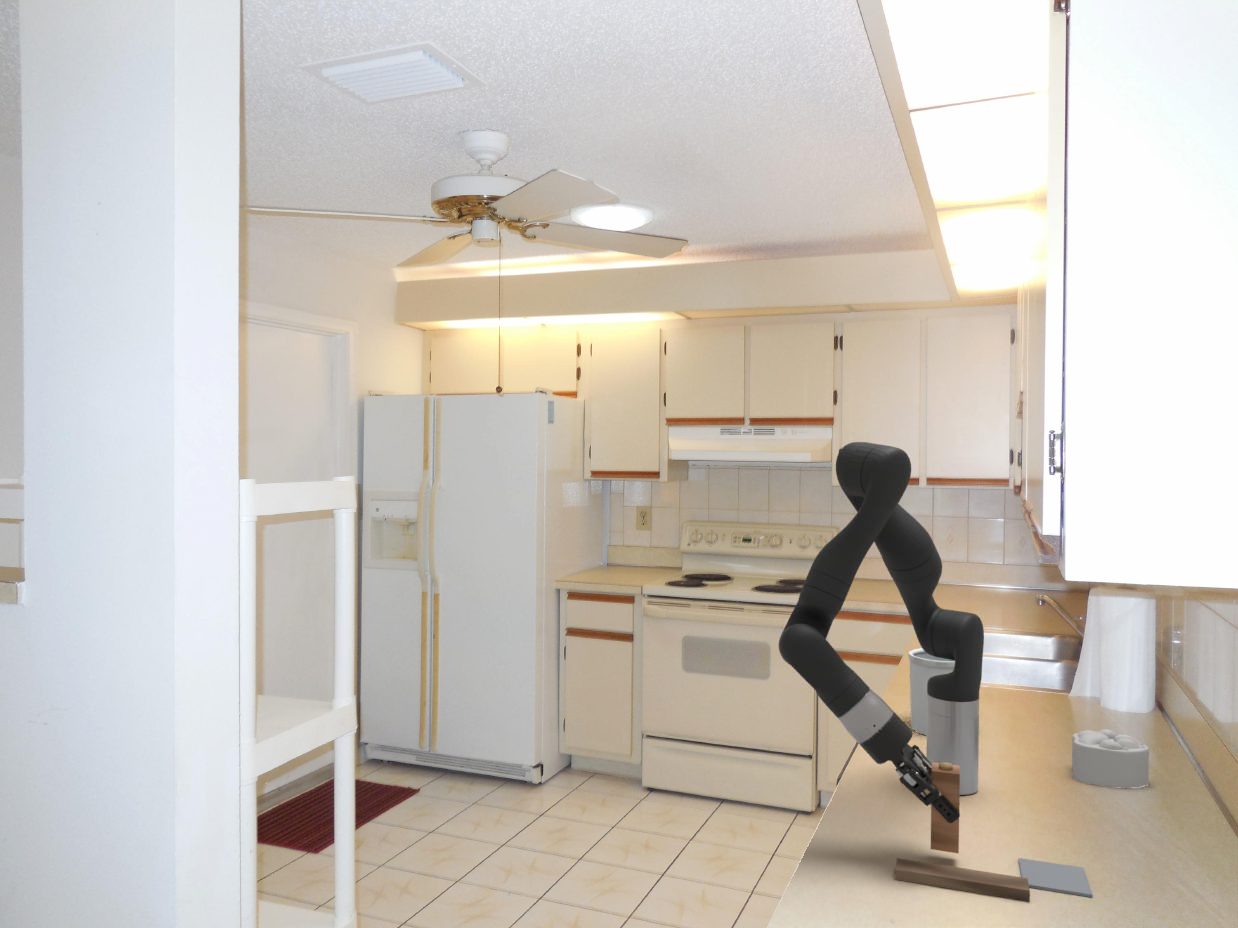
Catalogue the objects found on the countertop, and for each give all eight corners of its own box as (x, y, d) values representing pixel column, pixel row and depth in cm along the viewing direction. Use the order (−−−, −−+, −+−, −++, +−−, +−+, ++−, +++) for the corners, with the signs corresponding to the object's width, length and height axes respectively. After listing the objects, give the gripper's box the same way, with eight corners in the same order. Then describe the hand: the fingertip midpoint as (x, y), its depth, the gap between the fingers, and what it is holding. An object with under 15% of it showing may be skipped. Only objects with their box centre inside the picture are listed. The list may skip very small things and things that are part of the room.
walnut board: (896, 867, 135) (896, 857, 135) (1027, 888, 129) (1027, 877, 129) (895, 879, 132) (895, 868, 132) (1029, 901, 125) (1029, 890, 125)
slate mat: (1018, 860, 138) (1018, 857, 138) (1083, 869, 135) (1083, 867, 135) (1023, 886, 130) (1023, 883, 130) (1092, 897, 127) (1092, 894, 127)
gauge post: (931, 838, 140) (932, 758, 140) (958, 842, 139) (959, 761, 139) (930, 848, 137) (931, 766, 137) (958, 853, 135) (959, 770, 135)
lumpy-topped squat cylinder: (1071, 765, 182) (1072, 723, 182) (1145, 775, 176) (1145, 731, 176) (1073, 782, 172) (1074, 737, 172) (1151, 793, 167) (1152, 747, 167)
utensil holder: (907, 736, 200) (908, 657, 200) (907, 718, 214) (908, 644, 214) (978, 743, 195) (979, 663, 195) (974, 724, 210) (975, 649, 209)
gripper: (889, 723, 134) (975, 816, 130) (894, 699, 147) (973, 782, 143) (852, 754, 136) (936, 846, 132) (861, 727, 149) (937, 810, 145)
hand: (955, 812), depth 137 cm, fingers closed on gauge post, 4 cm apart
